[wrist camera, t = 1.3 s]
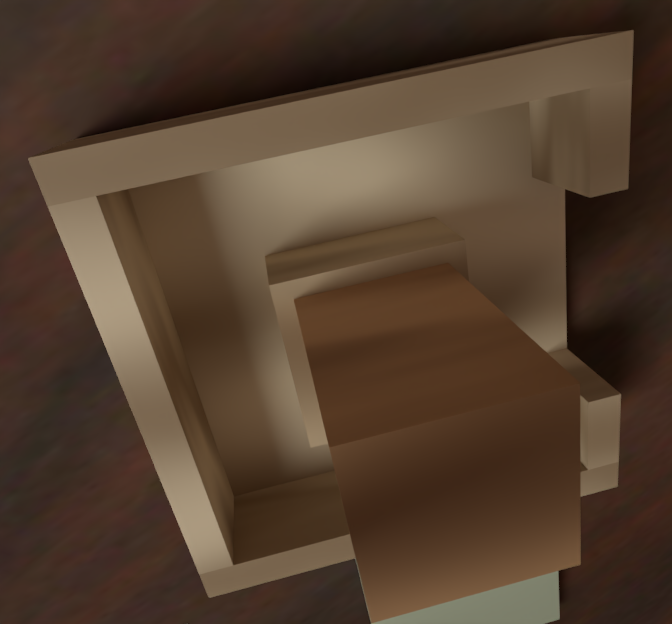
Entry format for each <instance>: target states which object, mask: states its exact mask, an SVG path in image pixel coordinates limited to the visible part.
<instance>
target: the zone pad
mask: <svg viewBox="0 0 672 624" xmlns="http://www.w3.org/2000/svg"><path fill="white" fill-rule="evenodd" d="M355 559H356V558H355ZM356 563H357V562H356ZM357 567H358V566H357ZM358 571H359V570H358ZM359 575H360V574H359ZM360 579H361V578H360ZM361 584H362V582H361ZM362 588H363V586H362ZM363 592H364V591H363ZM364 596H365V595H364ZM365 600H366V599H365ZM366 604H367V603H366ZM367 609H368V607H367ZM368 613H369V611H368ZM369 617H370V616H369ZM559 619H560V613H559V574H558V571H556V572H552V573H549V574H545V575H542V576H538V577H535V578H531V579H527V580H524V581H520V582H517V583H513V584H510V585H506V586H503V587H499V588H495V589H492V590H488V591H485V592H481V593H478V594H474V595H471V596H467V597H463V598H460V599H456V600H453V601H449V602H446V603H442V604H439V605H435V606H431V607H428V608H424V609H421V610H417V611H414V612H410V613H407V614H403V615H400V616H396V617H392V618H389V619H385V620H382V621H378V622H375V623H371V624H545V623H549V622H552V621H555V620H559ZM370 621H371V620H370Z"/></svg>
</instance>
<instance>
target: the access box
mask: <svg viewBox="0 0 672 624" xmlns="http://www.w3.org/2000/svg"><path fill="white" fill-rule="evenodd" d="M633 40H634V30H628V31H619V32H609V33H600V34H591V35H581V36H572V37H563V38H554V39H548V40H543V41H538V42H534V43H529V44H524V45H519V46H515V47H510V48H505V49H500V50H496V51H491V52H486V53H481V54H477V55H472V56H467V57H462V58H458V59H453V60H448V61H443V62H439V63H434V64H429V65H424V66H420V67H415V68H410V69H405V70H401V71H396V72H391V73H386V74H382V75H377V76H372V77H367V78H363V79H358V80H353V81H348V82H344V83H339V84H334V85H329V86H325V87H320V88H315V89H310V90H306V91H301V92H296V93H291V94H287V95H282V96H277V97H272V98H268V99H263V100H258V101H253V102H249V103H244V104H239V105H234V106H230V107H225V108H220V109H215V110H211V111H206V112H201V113H196V114H192V115H187V116H182V117H177V118H173V119H168V120H163V121H158V122H154V123H149V124H144V125H139V126H135V127H130V128H125V129H120V130H116V131H111V132H106V133H101V134H97V135H92V136H87V137H82V138H78V139H74V140H71V141H69V142H66V143H64V144H61V145H59V146H56V147H54V148H52V149H49V150H47V151H44V152H42V153H39V154H37V155H34V156H32V157H29V158H28V160H29V162H30V165H31V167H32V170H33V172H34V174H35V177H36V179H37V182H38V184H39V187H40V189H41V191H42V194H43V196H44V199H45V201H46V204H47V206H48V208H49V211H50V213H51V216H52V218H53V220H54V223H55V225H56V228H57V230H58V233H59V235H60V237H61V240H62V242H63V245H64V247H65V250H66V252H67V254H68V257H69V259H70V262H71V264H72V267H73V269H74V271H75V274H76V276H77V279H78V281H79V284H80V286H81V288H82V291H83V293H84V296H85V298H86V301H87V303H88V305H89V308H90V310H91V313H92V315H93V318H94V320H95V322H96V325H97V327H98V330H99V332H100V335H101V337H102V339H103V342H104V344H105V347H106V349H107V352H108V354H109V356H110V359H111V361H112V364H113V366H114V369H115V371H116V373H117V376H118V378H119V381H120V383H121V386H122V388H123V390H124V393H125V395H126V398H127V400H128V403H129V405H130V407H131V410H132V412H133V415H134V417H135V420H136V422H137V424H138V427H139V429H140V432H141V434H142V437H143V439H144V441H145V444H146V446H147V449H148V451H149V454H150V456H151V458H152V461H153V463H154V466H155V468H156V471H157V473H158V475H159V478H160V480H161V483H162V485H163V488H164V490H165V492H166V495H167V497H168V500H169V502H170V505H171V507H172V509H173V512H174V514H175V517H176V519H177V522H178V524H179V526H180V529H181V531H182V534H183V536H184V539H185V541H186V543H187V546H188V548H189V551H190V553H191V556H192V558H193V560H194V563H195V565H196V568H197V570H198V573H199V575H200V577H201V580H202V582H203V585H204V587H205V590H206V592H207V594H208V597H209V598H211V597H214V596H218V595H222V594H225V593H229V592H233V591H236V590H240V589H244V588H247V587H251V586H255V585H258V584H262V583H266V582H269V581H273V580H277V579H280V578H284V577H288V576H291V575H295V574H299V573H302V572H306V571H310V570H314V569H317V568H321V567H325V566H328V565H332V564H336V563H339V562H343V561H347V560H350V559H354V558H356V557H355V553H354V549H353V545H352V541H351V537H350V533H349V528H348V524H347V520H346V516H345V512H344V508H343V504H342V499H341V495H340V491H339V487H338V483H337V479H336V475H335V470H334V466H333V462H332V458H331V454H330V450H329V445H328V441H327V437H326V433H325V429H324V425H323V421H322V416H321V412H320V408H319V404H318V400H317V396H316V391H315V387H314V383H313V379H312V375H311V370H310V366H309V362H308V358H307V354H306V350H305V345H304V341H303V337H302V333H301V329H300V325H299V320H298V316H297V312H296V308H295V304H294V300H293V299H297V298H301V297H305V296H310V295H314V294H318V293H322V292H327V291H331V290H335V289H339V288H343V287H348V286H352V285H356V284H360V283H365V282H369V281H373V280H377V279H381V278H386V277H390V276H394V275H398V274H403V273H407V272H411V271H415V270H419V269H424V268H428V267H432V266H436V265H440V264H445V263H449V264H450V265H451V266H452V267H453V268H454V269H455V270H457V271H458V272H459V273H460V274H461V275H462V276H463V277H464V278H465V279H466V280H468V281H469V282H470V283H471V284H472V285H473V286H474V287H475V288H476V289H477V290H479V291H480V292H481V293H482V294H483V295H484V296H485V297H486V298H487V299H488V300H490V301H491V302H492V303H493V304H494V305H495V306H496V307H497V308H498V309H499V310H501V311H502V312H503V313H504V314H505V315H506V316H507V317H508V318H509V319H510V320H512V321H513V322H514V323H515V324H516V325H517V326H518V327H519V328H520V329H521V330H523V331H524V332H525V333H526V334H527V335H528V336H529V337H530V338H531V339H532V340H534V341H535V342H536V343H537V344H538V345H539V346H540V347H541V348H542V349H543V350H545V351H546V352H547V353H548V354H549V355H550V356H551V357H552V358H553V359H554V360H556V361H557V362H558V363H559V364H560V365H561V366H562V367H563V368H564V369H565V370H567V371H568V372H569V373H570V374H571V375H572V376H573V377H574V378H575V379H577V380H578V381H579V382H580V468H581V496H585V495H589V494H592V493H596V492H600V491H603V490H607V489H611V488H614V487H618V466H619V438H620V409H621V394H620V393H619V392H618V391H617V390H616V389H614V388H613V387H612V386H611V385H610V384H609V383H607V382H606V381H605V380H604V379H603V378H601V377H600V376H599V375H598V374H597V373H595V372H594V371H593V370H592V369H591V368H589V367H588V366H587V365H586V364H585V363H584V362H582V361H581V360H580V359H579V358H578V357H576V356H575V355H574V354H573V353H572V352H570V351H569V350H568V349H567V310H566V233H565V189H566V190H569V191H572V192H575V193H577V194H580V195H583V196H586V197H589V198H591V197H595V196H600V195H604V194H608V193H612V192H617V191H621V190H625V189H628V182H629V154H630V125H631V97H632V68H633Z"/></svg>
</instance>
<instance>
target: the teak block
mask: <svg viewBox="0 0 672 624" xmlns="http://www.w3.org/2000/svg"><path fill="white" fill-rule="evenodd" d="M293 300H294V304H295V308H296V312H297V316H298V320H299V325H300V329H301V333H302V337H303V341H304V345H305V350H306V354H307V358H308V362H309V366H310V370H311V375H312V379H313V383H314V387H315V391H316V396H317V400H318V404H319V408H320V412H321V416H322V421H323V425H324V429H325V433H326V437H327V441H328V445H329V450H330V454H331V458H332V462H333V466H334V470H335V475H336V479H337V483H338V487H339V491H340V495H341V499H342V504H343V508H344V512H345V516H346V520H347V524H348V528H349V533H350V537H351V541H352V545H353V549H354V553H355V557H356V562H357V566H358V570H359V574H360V578H361V582H362V586H363V591H364V595H365V599H366V603H367V607H368V611H369V616H370V620H371V623H375V622H378V621H382V620H385V619H389V618H392V617H396V616H400V615H403V614H407V613H410V612H414V611H417V610H421V609H424V608H428V607H431V606H435V605H439V604H442V603H446V602H449V601H453V600H456V599H460V598H463V597H467V596H471V595H474V594H478V593H481V592H485V591H488V590H492V589H495V588H499V587H503V586H506V585H510V584H513V583H517V582H520V581H524V580H527V579H531V578H535V577H538V576H542V575H545V574H549V573H552V572H556V571H559V570H563V569H566V568H570V567H574V566H577V565H581V468H580V382H579V381H578V380H577V379H575V378H574V377H573V376H572V375H571V374H570V373H569V372H568V371H567V370H565V369H564V368H563V367H562V366H561V365H560V364H559V363H558V362H557V361H556V360H554V359H553V358H552V357H551V356H550V355H549V354H548V353H547V352H546V351H545V350H543V349H542V348H541V347H540V346H539V345H538V344H537V343H536V342H535V341H534V340H532V339H531V338H530V337H529V336H528V335H527V334H526V333H525V332H524V331H523V330H521V329H520V328H519V327H518V326H517V325H516V324H515V323H514V322H513V321H512V320H510V319H509V318H508V317H507V316H506V315H505V314H504V313H503V312H502V311H501V310H499V309H498V308H497V307H496V306H495V305H494V304H493V303H492V302H491V301H490V300H488V299H487V298H486V297H485V296H484V295H483V294H482V293H481V292H480V291H479V290H477V289H476V288H475V287H474V286H473V285H472V284H471V283H470V282H469V281H468V280H466V279H465V278H464V277H463V276H462V275H461V274H460V273H459V272H458V271H457V270H455V269H454V268H453V267H452V266H451V265H450V264H449V263H445V264H440V265H436V266H432V267H428V268H424V269H419V270H415V271H411V272H407V273H403V274H398V275H394V276H390V277H386V278H381V279H377V280H373V281H369V282H365V283H360V284H356V285H352V286H348V287H343V288H339V289H335V290H331V291H327V292H322V293H318V294H314V295H310V296H305V297H301V298H297V299H293Z"/></svg>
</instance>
